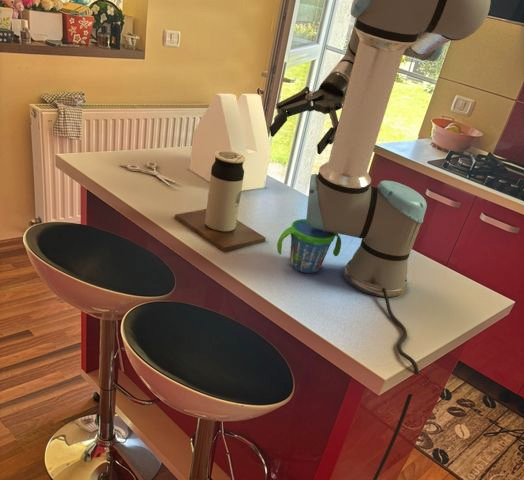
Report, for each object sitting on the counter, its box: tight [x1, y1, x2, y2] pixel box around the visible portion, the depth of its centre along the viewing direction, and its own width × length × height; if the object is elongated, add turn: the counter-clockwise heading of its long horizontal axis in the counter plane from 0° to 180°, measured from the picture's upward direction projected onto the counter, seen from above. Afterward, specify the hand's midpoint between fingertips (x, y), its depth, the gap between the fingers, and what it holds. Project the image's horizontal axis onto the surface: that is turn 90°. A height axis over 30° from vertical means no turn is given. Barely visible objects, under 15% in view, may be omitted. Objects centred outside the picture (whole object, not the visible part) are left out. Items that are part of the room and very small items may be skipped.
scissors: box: [120, 161, 180, 187], centre depth 163 cm, size 11×1×20 cm
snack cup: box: [276, 218, 342, 274], centre depth 130 cm, size 16×10×10 cm
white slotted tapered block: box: [189, 93, 272, 192], centre depth 166 cm, size 19×15×25 cm
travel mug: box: [205, 151, 245, 231], centre depth 135 cm, size 8×8×18 cm
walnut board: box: [174, 208, 266, 253], centre depth 141 cm, size 20×14×1 cm
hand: (294, 140), depth 132 cm, fingers open, 13 cm apart
